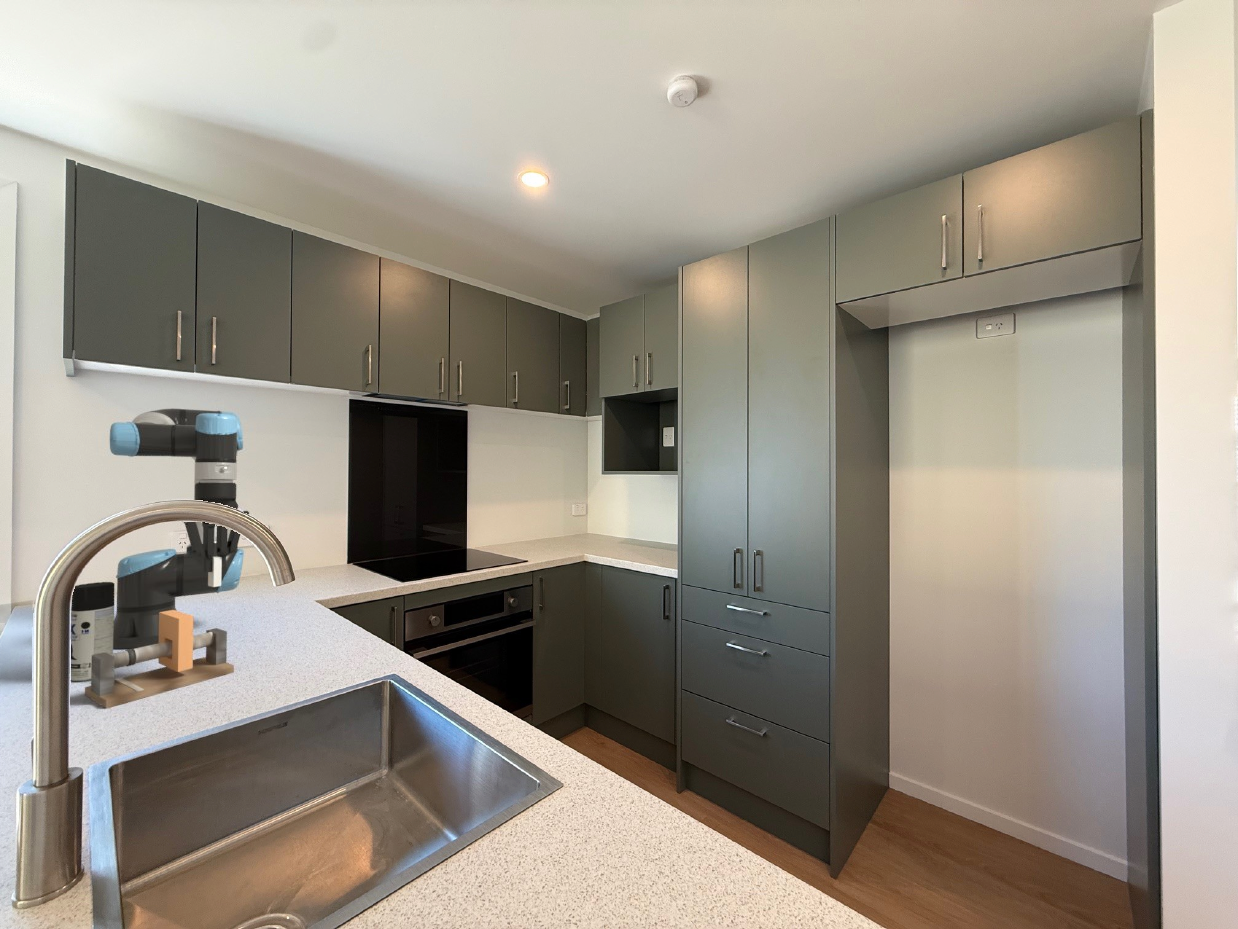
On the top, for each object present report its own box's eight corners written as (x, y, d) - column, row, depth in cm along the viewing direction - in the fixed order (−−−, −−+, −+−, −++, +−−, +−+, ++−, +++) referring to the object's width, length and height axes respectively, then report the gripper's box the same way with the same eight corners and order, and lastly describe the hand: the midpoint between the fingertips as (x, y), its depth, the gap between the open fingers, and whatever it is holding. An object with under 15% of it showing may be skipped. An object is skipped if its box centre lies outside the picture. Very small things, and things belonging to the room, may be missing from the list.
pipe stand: (209, 662, 123) (209, 625, 123) (233, 672, 117) (234, 633, 117) (84, 694, 105) (85, 651, 105) (106, 708, 98) (107, 662, 99)
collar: (172, 659, 116) (173, 609, 116) (192, 668, 111) (193, 616, 111) (158, 663, 114) (159, 612, 114) (178, 672, 109) (178, 618, 109)
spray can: (69, 676, 114) (70, 584, 114) (112, 668, 119) (113, 580, 119) (69, 685, 109) (71, 589, 110) (114, 676, 114) (116, 584, 115)
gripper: (188, 481, 112) (186, 593, 111) (256, 481, 123) (254, 582, 122) (173, 482, 115) (171, 589, 115) (240, 481, 127) (239, 579, 126)
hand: (214, 585), depth 118 cm, fingers closed
